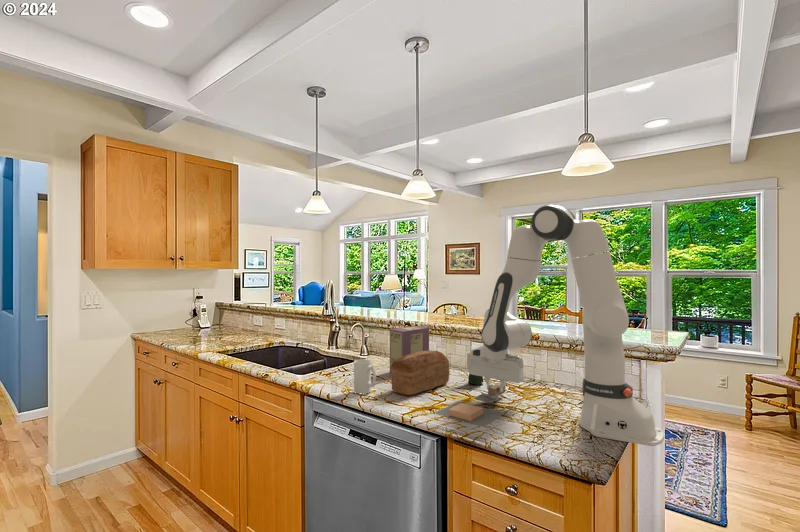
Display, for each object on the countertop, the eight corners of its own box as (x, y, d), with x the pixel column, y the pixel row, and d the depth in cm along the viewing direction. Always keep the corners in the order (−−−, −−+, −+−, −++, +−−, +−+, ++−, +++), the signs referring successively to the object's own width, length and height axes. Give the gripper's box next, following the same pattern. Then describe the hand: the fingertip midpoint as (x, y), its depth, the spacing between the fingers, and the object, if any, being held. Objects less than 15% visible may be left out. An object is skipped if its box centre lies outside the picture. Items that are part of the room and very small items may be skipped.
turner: (494, 389, 156) (494, 381, 156) (509, 393, 152) (509, 384, 152) (475, 399, 144) (475, 390, 144) (491, 403, 140) (491, 394, 140)
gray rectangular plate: (505, 414, 137) (505, 412, 137) (483, 428, 125) (483, 426, 125) (458, 403, 148) (458, 401, 148) (434, 414, 136) (434, 413, 136)
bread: (385, 392, 161) (385, 355, 161) (431, 378, 181) (431, 345, 181) (408, 399, 152) (408, 360, 152) (453, 384, 173) (453, 349, 173)
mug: (350, 392, 160) (350, 361, 160) (361, 388, 165) (361, 358, 166) (369, 397, 154) (369, 365, 154) (381, 393, 159) (381, 362, 159)
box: (403, 376, 184) (403, 331, 184) (389, 372, 191) (389, 329, 191) (428, 370, 195) (429, 327, 195) (415, 366, 202) (415, 325, 202)
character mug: (478, 388, 166) (478, 356, 166) (462, 385, 170) (462, 353, 170) (489, 382, 175) (489, 351, 175) (473, 379, 179) (473, 349, 179)
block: (482, 408, 135) (470, 414, 129) (482, 414, 135) (470, 421, 129) (461, 402, 140) (448, 409, 134) (461, 409, 140) (448, 415, 134)
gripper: (526, 355, 145) (526, 394, 145) (474, 347, 158) (474, 383, 158) (519, 358, 140) (519, 398, 140) (466, 349, 153) (465, 387, 153)
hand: (494, 390), depth 149 cm, fingers closed on turner, 2 cm apart
